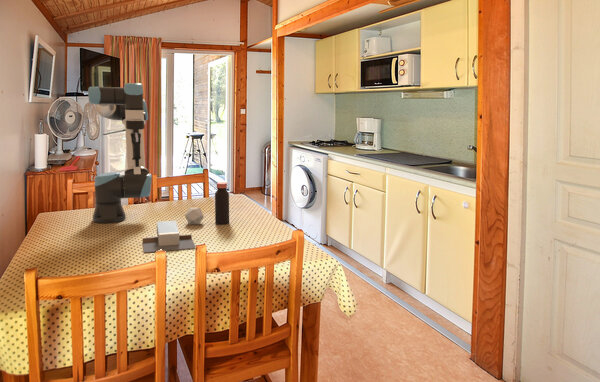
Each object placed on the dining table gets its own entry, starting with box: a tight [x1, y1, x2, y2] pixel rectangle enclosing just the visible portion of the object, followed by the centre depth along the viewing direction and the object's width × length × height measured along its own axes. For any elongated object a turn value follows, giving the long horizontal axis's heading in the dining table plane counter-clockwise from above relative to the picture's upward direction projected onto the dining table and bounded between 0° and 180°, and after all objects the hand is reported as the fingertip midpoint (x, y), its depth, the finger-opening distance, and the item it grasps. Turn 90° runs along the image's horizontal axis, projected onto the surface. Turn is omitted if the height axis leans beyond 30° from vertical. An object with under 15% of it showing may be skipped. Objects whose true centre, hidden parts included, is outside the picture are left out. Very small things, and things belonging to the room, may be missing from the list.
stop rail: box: [142, 233, 193, 243], centre depth 198 cm, size 1×20×2 cm, turn 111°
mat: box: [142, 239, 196, 254], centre depth 191 cm, size 14×20×1 cm
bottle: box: [214, 181, 230, 226], centre depth 228 cm, size 7×7×20 cm
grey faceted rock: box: [184, 207, 205, 225], centre depth 227 cm, size 8×9×10 cm
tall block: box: [156, 220, 180, 246], centre depth 195 cm, size 5×8×12 cm
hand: (137, 173), depth 206 cm, fingers closed
